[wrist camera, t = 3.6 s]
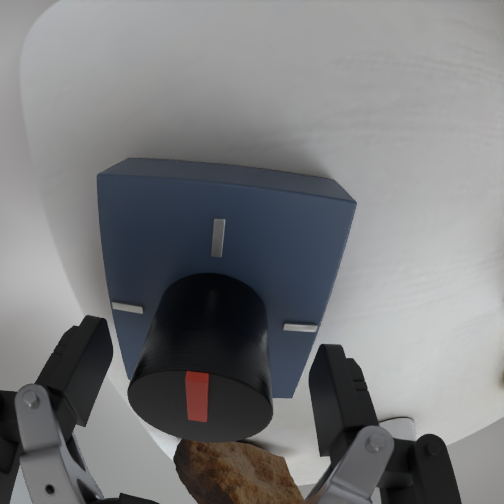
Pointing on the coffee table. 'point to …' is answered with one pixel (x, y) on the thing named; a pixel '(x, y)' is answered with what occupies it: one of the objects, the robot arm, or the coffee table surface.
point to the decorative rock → (234, 474)
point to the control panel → (223, 246)
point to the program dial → (205, 362)
